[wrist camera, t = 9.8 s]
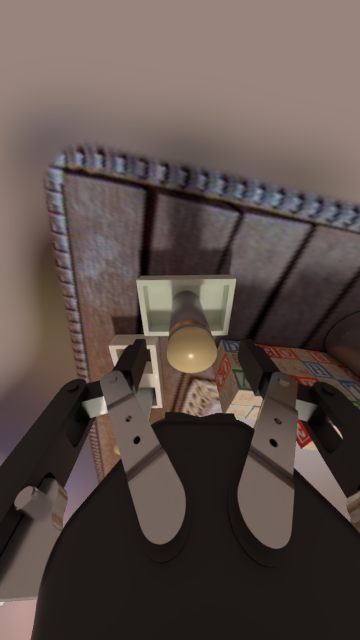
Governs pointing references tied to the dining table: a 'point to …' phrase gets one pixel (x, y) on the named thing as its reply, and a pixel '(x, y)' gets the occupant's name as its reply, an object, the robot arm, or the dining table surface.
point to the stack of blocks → (288, 360)
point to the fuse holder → (152, 368)
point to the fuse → (143, 404)
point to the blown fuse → (189, 335)
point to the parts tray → (162, 290)
